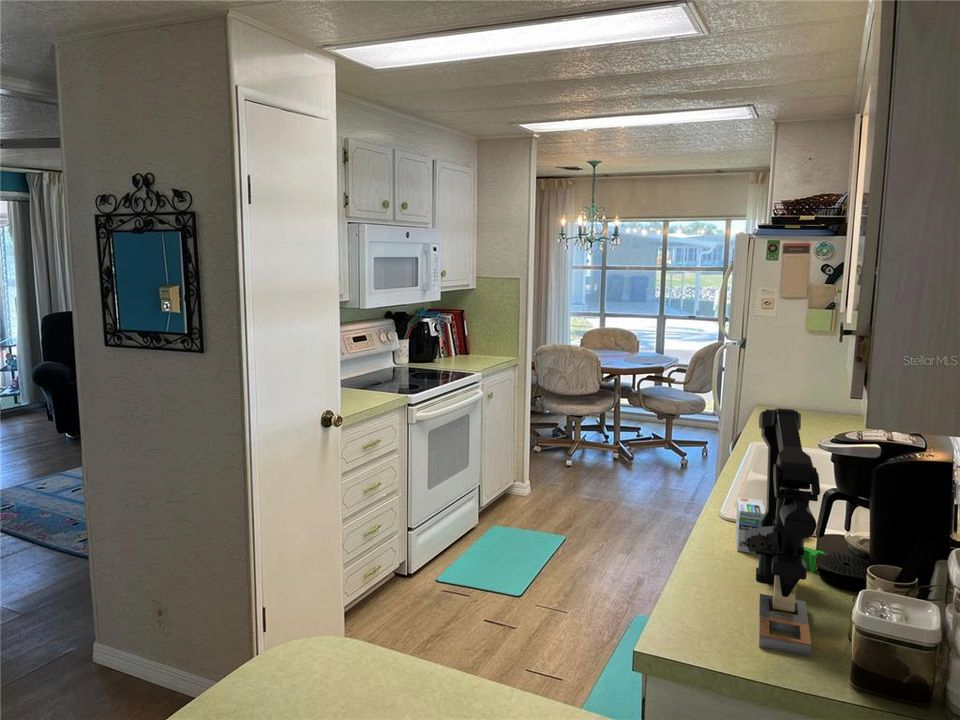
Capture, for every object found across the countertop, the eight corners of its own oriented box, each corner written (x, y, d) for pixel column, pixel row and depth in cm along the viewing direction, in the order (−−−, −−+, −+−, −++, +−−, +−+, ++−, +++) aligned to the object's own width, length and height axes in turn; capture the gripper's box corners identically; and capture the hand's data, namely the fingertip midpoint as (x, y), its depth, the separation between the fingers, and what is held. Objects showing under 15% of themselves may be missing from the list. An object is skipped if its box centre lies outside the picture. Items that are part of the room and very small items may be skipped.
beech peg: (772, 599, 153) (775, 563, 151) (793, 603, 151) (796, 567, 150) (773, 608, 149) (776, 571, 148) (794, 611, 148) (797, 575, 146)
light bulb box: (764, 555, 180) (768, 514, 179) (736, 551, 182) (739, 511, 180) (761, 538, 190) (764, 499, 189) (734, 535, 192) (736, 496, 191)
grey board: (759, 602, 156) (759, 592, 156) (804, 610, 153) (805, 600, 153) (759, 647, 139) (759, 636, 138) (810, 657, 136) (811, 646, 135)
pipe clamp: (777, 563, 176) (778, 545, 175) (782, 558, 179) (784, 541, 178) (826, 577, 169) (828, 558, 168) (831, 572, 172) (832, 553, 171)
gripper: (749, 499, 159) (744, 566, 161) (747, 530, 141) (742, 605, 144) (804, 506, 155) (798, 575, 157) (810, 539, 137) (803, 615, 140)
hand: (784, 591), depth 150 cm, fingers closed on beech peg, 4 cm apart
